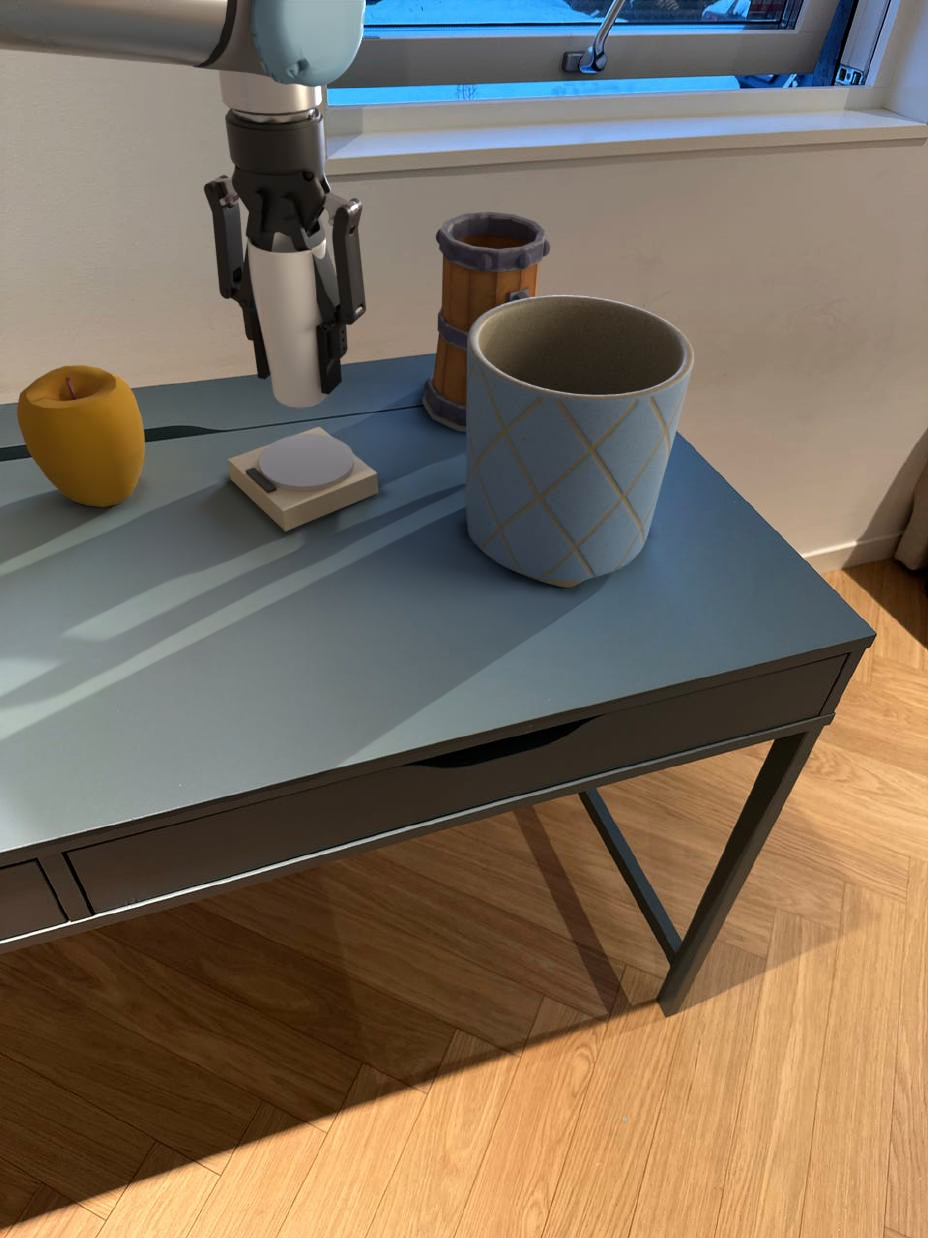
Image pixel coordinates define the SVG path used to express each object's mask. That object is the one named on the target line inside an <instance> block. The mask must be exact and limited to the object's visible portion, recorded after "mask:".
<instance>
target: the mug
mask: <svg viewBox="0 0 928 1238" xmlns="http://www.w3.org/2000/svg"><path fill="white" fill-rule="evenodd" d="M547 235H548V232H547V231H546V230H545V229H544V228H543V227H542V226H541V225H540V224H539V223H538V222H537V221H535V220H532V219H529V218H527V217H523V216H521V215H518V214H514V213H505V212H495V211H481V212H468V213H462V214H459V215H456V216H454V217H452V218H449V219H446V220H445V221H444V222H443V224H442V226H441V228H439V229H438V230H437V232H436V234H435V241H436V243H437V244H438V251H440V252H441V254H442V273H441V274H442V277H441V307H440V309H439V311H438V313H437V332H438V335H437V336H438V337H437V344H436V352H435V361H434V369H433V372H432V374H431V376H430V377H429V378H427V379H426V380H425V382H424V384H423V387H424V391H425V392H424V394H423V397H422V398H421V399H422V402H421V403H422V404H423V406H424V408H425V409H426V411H427V413H428V415H429V416H430V418H431V419H432V420H434V421H436V422H438V423H440V424H442V425H444V426H447V427H448V428H451V429H452V430H454V431H456V432H464V433H466V398H467V339H468V334H469V331H470V328H471V326H472V325H473V323H474V322H475V321H476V320H477V319H478V318H479V317H480V316H481V315H483V314H484V313H486V312H488V311H489V310H491V309H493V308H495V307H497V306H500V305H503V304H506V303H509V302H512V301H516V300H520V299H525V298H531V297H538V287H539V280H540V279H539V277H540V266H541V262H542V261H543V258H544V257H547V256H548V255H549V253H550V251H551V243H550V242H549V240H547Z"/></svg>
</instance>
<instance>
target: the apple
mask: <svg viewBox="0 0 928 1238" xmlns="http://www.w3.org/2000/svg"><path fill="white" fill-rule="evenodd" d="M16 417H17V421H18V425H19V430H20V432H21V436H22V438H23V441H24V444H25V446H26V449H27V451H28V453H29V455H30V457H31V458H32V459H33V461H34V463H35V464H36V465H37V466H38V468H39V469H40V471H41V472H42V473H43V475H44V476H45V477H46V479H47V480H48V481H49V482H50V483H51V484H52V485H53V486H54V487H55V488H56V489H57V490H58V491H59V492H60V493H61V494H62V495H63V496H65V497H67V498H68V499H70V500H71V501H72V502H73V501H74V503H78V504H82V505H85V506H88V507H98V508H99V507H100V508H107V507H111V506H114V505H118V504H121V503H122V502H124V501H125V500H127V499H128V498H130V497H131V496H132V494H133V493H134V491H135V489H136V487H137V484H138V482H139V479H140V476H141V474H142V471H143V465H144V460H145V451H146V450H145V449H146V448H145V447H146V445H145V443H146V442H145V441H146V440H145V439H146V438H145V430H144V424H143V418H142V415H141V412H140V408H139V405H138V402H137V398H136V397H135V394H134V392H133V391H132V389H131V387H130V386H129V385H128V383H127V382H126V381H125V380H124V379H122V378H121V377H120V376H118V375H115V374H113V373H112V372H109V371H106V370H104V369H102V368H100V367H95V366H91V365H90V366H89V365H85V364H79V365H63V366H61V367H57V368H55V369H52V370H50V371H48V372H47V373H45V374H43V375H41V376H40V377H37V378H36V379H35V380H34V381H32V382H31V383H30V384H29V385H28V386H27V387H25V388H24V389H23V390H22V391H20V393H19V396H18V402H17V406H16Z"/></svg>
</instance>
